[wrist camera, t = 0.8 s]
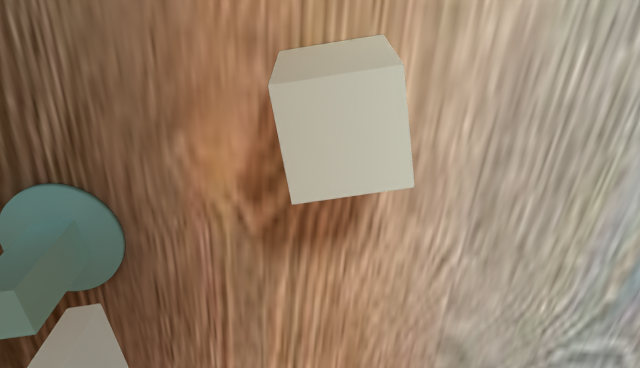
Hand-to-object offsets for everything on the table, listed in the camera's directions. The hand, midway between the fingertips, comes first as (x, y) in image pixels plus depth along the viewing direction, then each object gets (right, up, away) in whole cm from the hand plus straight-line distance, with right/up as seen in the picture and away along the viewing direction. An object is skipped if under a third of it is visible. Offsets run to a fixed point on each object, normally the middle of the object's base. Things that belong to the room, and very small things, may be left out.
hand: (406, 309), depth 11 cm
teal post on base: (-17, 0, +19) cm, 25 cm away
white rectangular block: (-1, +7, +16) cm, 17 cm away
